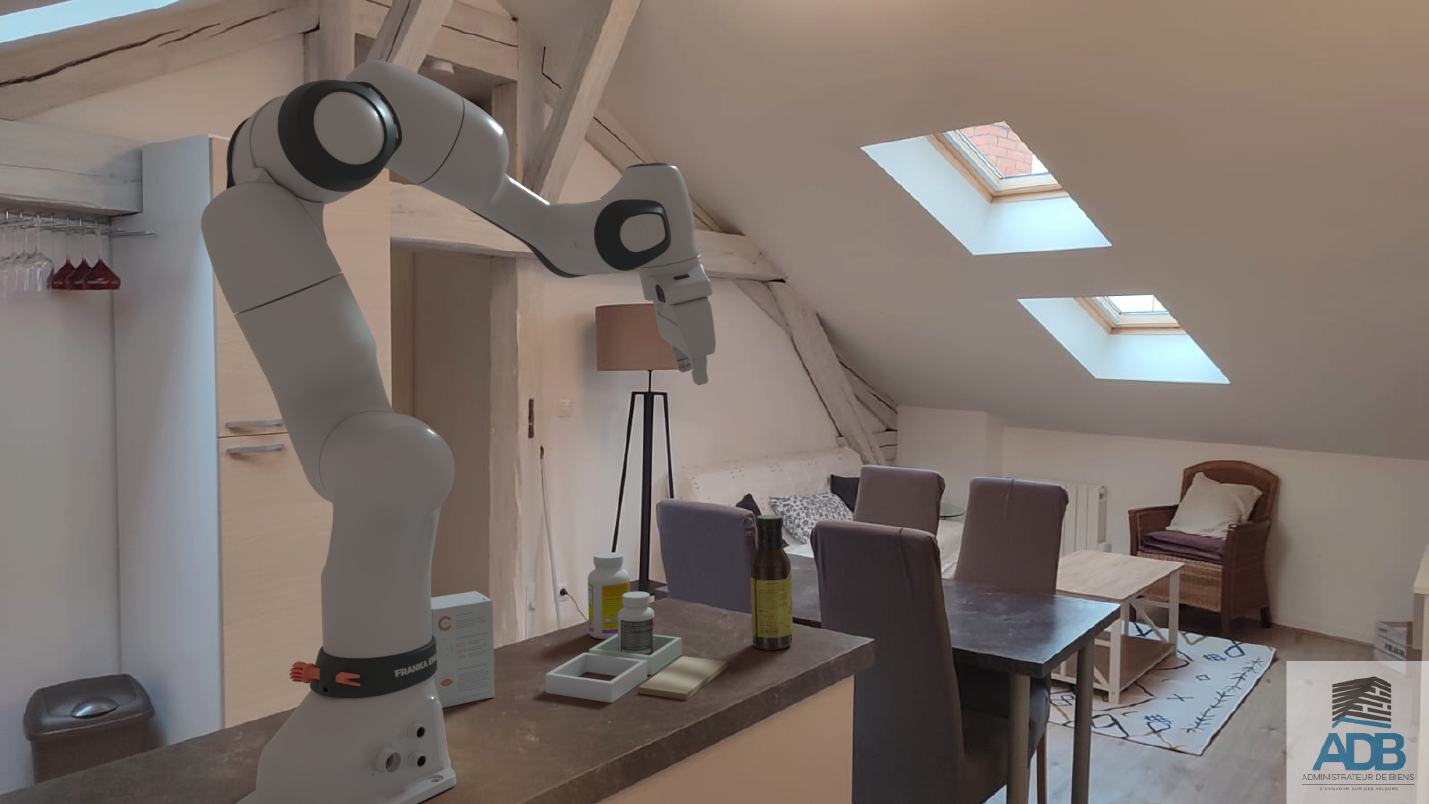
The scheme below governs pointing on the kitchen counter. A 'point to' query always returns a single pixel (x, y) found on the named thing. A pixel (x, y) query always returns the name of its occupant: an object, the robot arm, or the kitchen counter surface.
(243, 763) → the kitchen counter surface
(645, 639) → the pill bottle
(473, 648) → the small box
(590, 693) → the white square frame
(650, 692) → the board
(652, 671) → the sage tray
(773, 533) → the sauce bottle
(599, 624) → the supplement bottle
